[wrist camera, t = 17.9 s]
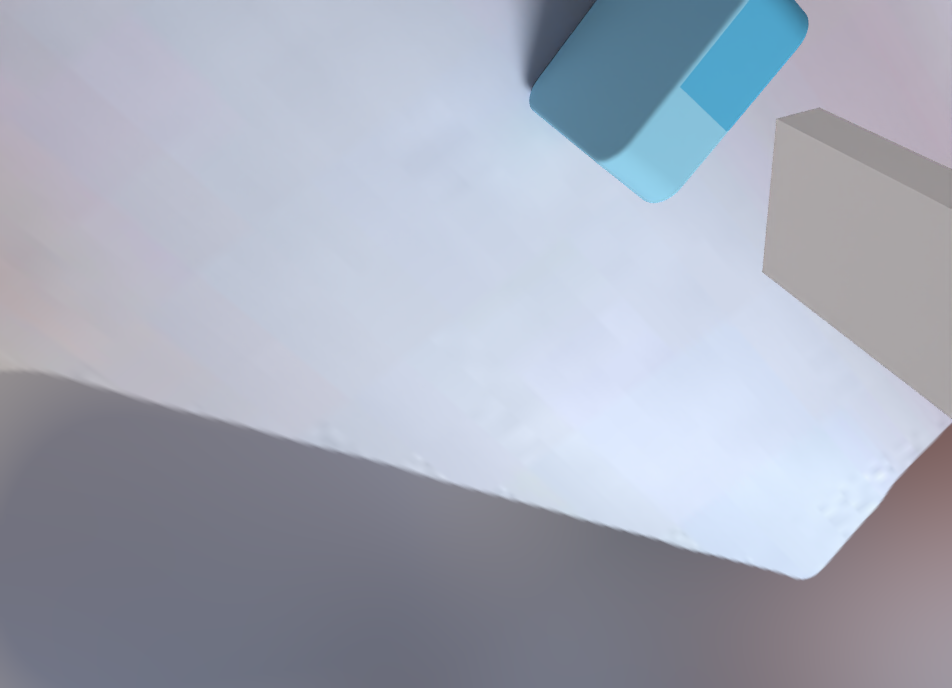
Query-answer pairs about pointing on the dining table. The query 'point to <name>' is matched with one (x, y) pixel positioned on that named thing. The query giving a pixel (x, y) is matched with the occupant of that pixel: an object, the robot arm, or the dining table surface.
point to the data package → (663, 82)
